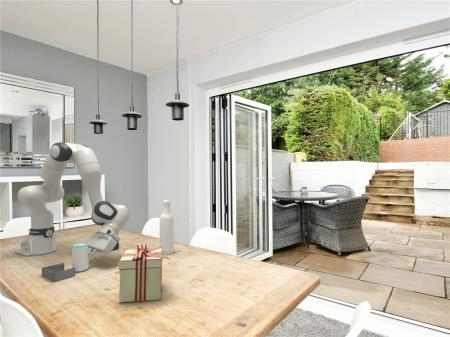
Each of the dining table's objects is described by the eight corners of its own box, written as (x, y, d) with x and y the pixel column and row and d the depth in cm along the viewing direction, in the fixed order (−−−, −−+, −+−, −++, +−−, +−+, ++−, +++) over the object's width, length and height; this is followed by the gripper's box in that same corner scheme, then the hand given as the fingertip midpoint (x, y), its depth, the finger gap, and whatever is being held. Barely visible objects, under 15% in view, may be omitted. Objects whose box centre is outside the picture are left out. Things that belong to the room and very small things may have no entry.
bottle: (170, 255, 154) (170, 201, 154) (157, 254, 155) (157, 200, 156) (175, 251, 162) (175, 199, 162) (163, 250, 163) (163, 199, 163)
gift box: (172, 298, 102) (172, 251, 102) (118, 305, 97) (118, 255, 97) (168, 281, 118) (167, 240, 119) (121, 286, 113) (121, 243, 113)
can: (85, 272, 129) (85, 246, 129) (69, 273, 128) (69, 246, 128) (90, 266, 136) (90, 242, 136) (75, 267, 135) (74, 243, 135)
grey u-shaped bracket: (63, 270, 132) (63, 262, 132) (75, 275, 125) (75, 268, 125) (41, 275, 125) (41, 267, 125) (53, 282, 117) (53, 274, 117)
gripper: (92, 227, 148) (73, 250, 140) (114, 232, 136) (94, 257, 128) (101, 234, 151) (83, 257, 144) (122, 239, 139) (104, 264, 131)
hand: (88, 257), depth 136 cm, fingers closed, pressing on can
